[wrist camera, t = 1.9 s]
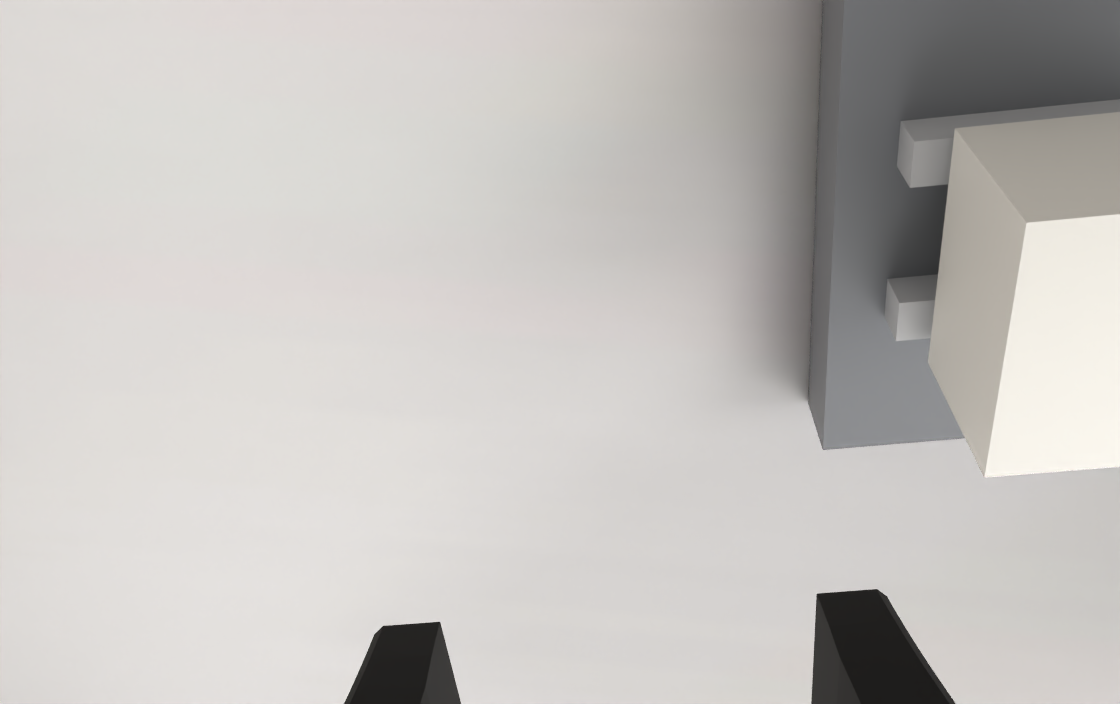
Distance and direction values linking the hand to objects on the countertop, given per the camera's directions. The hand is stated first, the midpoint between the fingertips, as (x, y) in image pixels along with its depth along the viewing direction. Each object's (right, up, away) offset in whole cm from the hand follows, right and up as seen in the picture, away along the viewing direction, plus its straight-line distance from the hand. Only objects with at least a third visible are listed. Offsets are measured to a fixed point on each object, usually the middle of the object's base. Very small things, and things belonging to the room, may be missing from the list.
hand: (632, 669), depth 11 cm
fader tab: (+7, +6, +7) cm, 11 cm away
